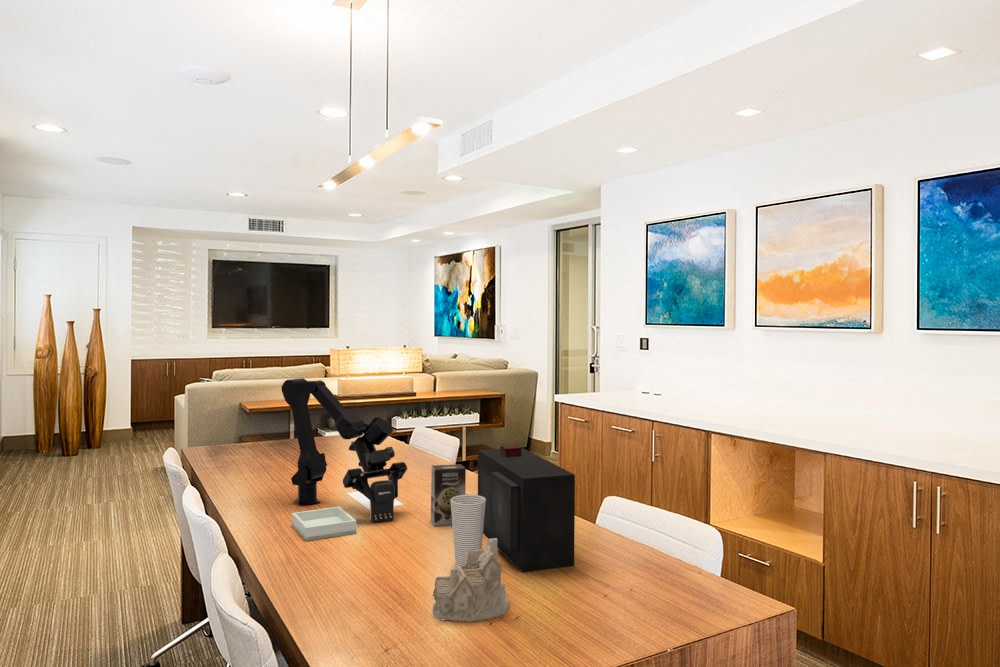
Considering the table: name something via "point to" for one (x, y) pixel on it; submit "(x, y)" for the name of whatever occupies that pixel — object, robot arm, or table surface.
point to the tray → (323, 523)
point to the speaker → (528, 507)
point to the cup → (467, 525)
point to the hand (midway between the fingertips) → (385, 499)
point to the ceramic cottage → (472, 588)
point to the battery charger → (382, 501)
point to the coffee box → (445, 491)
